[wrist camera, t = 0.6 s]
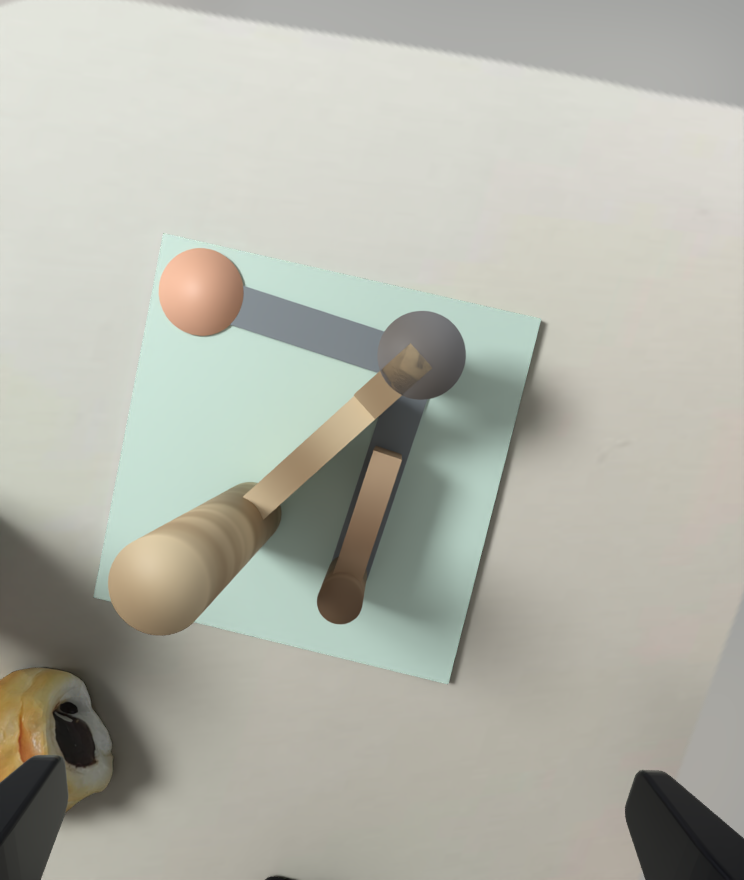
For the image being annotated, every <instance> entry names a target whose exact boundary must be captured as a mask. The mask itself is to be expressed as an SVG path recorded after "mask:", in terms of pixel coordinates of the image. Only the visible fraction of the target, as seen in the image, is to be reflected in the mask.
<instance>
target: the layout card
mask: <svg viewBox="0 0 744 880" xmlns="http://www.w3.org/2000/svg"><path fill="white" fill-rule="evenodd" d="M414 311H430V312H434V313H437V314H440V315H442V316H444V317H446V318H447V319H448V320H450V321H451V322H452V323H453V324H454V325H455V326H456V328H457V329H458V330H459V332H460V334H461V335H462V338H463V340H464V344H465V349H466V360H465V366H464V369H463V372H462V374H461V376H460V378H459V379H458V381H457V382H456V383H455V385H454V386H453V387H452V388H451V389H449V390H448V391H447V392H445V393H444V394H442V395H440V396H438V397H435V398H431V399H425V400H417V399H411V398H407V397H404V396H401V397H400V398H398V399H397V400H396V401H395V402H394V403H393V404H392V405H391V406H389V407H388V408H387V409H386V410H385V411H384V412H383V413H382V414H381V415H379V416H378V417H377V418H376V419H375V420H374V421H373V422H372V423H370V424H369V425H368V426H367V427H366V428H365V429H364V430H363V431H362V432H360V433H359V434H358V435H357V436H356V437H355V438H354V439H353V440H352V441H350V442H349V443H348V444H347V445H346V446H345V447H344V448H343V449H341V450H340V451H339V452H338V453H337V454H336V455H335V456H334V457H333V458H331V459H330V460H329V461H328V462H327V463H326V464H325V465H324V466H323V467H321V468H320V469H319V470H318V471H317V472H316V473H315V474H314V475H313V476H311V477H310V478H309V479H308V480H307V481H306V482H305V483H304V484H303V485H301V486H300V487H299V488H298V489H297V490H296V491H295V492H294V493H293V494H291V495H290V496H289V497H288V498H287V499H286V500H285V501H284V502H282V503H281V504H280V506H281V514H282V515H281V521H280V524H279V527H278V528H277V530H276V531H275V533H274V534H273V535H272V536H271V537H270V538H269V539H268V541H267V542H266V543H265V544H264V545H263V546H262V547H261V548H260V549H259V551H258V552H257V553H256V554H255V555H254V556H253V557H252V558H251V559H250V561H249V562H248V563H247V564H246V565H245V566H244V567H243V568H242V569H241V571H240V572H239V573H238V574H237V575H236V576H235V577H234V578H233V579H232V581H231V582H230V583H229V584H228V585H227V586H226V587H225V588H224V589H223V591H222V592H221V593H220V594H219V595H218V596H217V597H216V598H215V599H214V601H213V602H212V603H211V604H210V605H209V606H208V607H207V608H206V609H205V611H204V612H203V613H202V614H201V615H200V616H199V617H198V618H197V619H196V620H195V621H194V622H195V623H200V624H204V625H208V626H212V627H216V628H220V629H224V630H228V631H232V632H236V633H240V634H244V635H249V636H253V637H257V638H261V639H265V640H269V641H273V642H277V643H281V644H285V645H289V646H293V647H297V648H302V649H306V650H310V651H314V652H318V653H322V654H326V655H330V656H334V657H338V658H342V659H346V660H351V661H355V662H359V663H363V664H367V665H371V666H375V667H379V668H383V669H387V670H391V671H395V672H399V673H404V674H408V675H412V676H416V677H420V678H424V679H428V680H432V681H436V682H440V683H444V684H448V683H449V679H450V676H451V672H452V668H453V664H454V660H455V656H456V652H457V648H458V644H459V640H460V636H461V632H462V628H463V624H464V621H465V617H466V613H467V609H468V605H469V601H470V597H471V593H472V589H473V585H474V581H475V577H476V573H477V569H478V566H479V562H480V558H481V554H482V550H483V546H484V542H485V538H486V534H487V530H488V526H489V522H490V518H491V514H492V511H493V507H494V503H495V499H496V495H497V491H498V487H499V483H500V479H501V475H502V471H503V467H504V463H505V459H506V456H507V452H508V448H509V444H510V440H511V436H512V432H513V428H514V424H515V420H516V416H517V412H518V408H519V404H520V401H521V397H522V393H523V389H524V385H525V381H526V377H527V373H528V369H529V365H530V361H531V357H532V353H533V349H534V346H535V342H536V338H537V334H538V330H539V326H540V322H541V319H540V318H536V317H531V316H527V315H522V314H518V313H513V312H509V311H505V310H500V309H496V308H491V307H487V306H483V305H478V304H474V303H469V302H465V301H461V300H456V299H452V298H447V297H443V296H438V295H434V294H430V293H425V292H421V291H416V290H412V289H408V288H403V287H399V286H394V285H390V284H386V283H381V282H377V281H372V280H368V279H363V278H359V277H355V276H350V275H346V274H341V273H337V272H333V271H328V270H324V269H319V268H315V267H311V266H306V265H302V264H297V263H293V262H288V261H284V260H280V259H275V258H271V257H266V256H262V255H258V254H253V253H249V252H244V251H240V250H236V249H231V248H227V247H222V246H218V245H213V244H209V243H205V242H200V241H196V240H191V239H187V238H183V237H178V236H174V235H169V234H165V233H163V237H162V243H161V248H160V253H159V258H158V263H157V269H156V274H155V279H154V284H153V289H152V295H151V300H150V305H149V310H148V316H147V321H146V326H145V331H144V336H143V342H142V347H141V352H140V357H139V362H138V368H137V373H136V378H135V383H134V389H133V394H132V399H131V404H130V409H129V415H128V420H127V425H126V430H125V435H124V441H123V446H122V451H121V456H120V462H119V467H118V472H117V477H116V482H115V488H114V493H113V498H112V503H111V509H110V514H109V519H108V524H107V529H106V535H105V540H104V545H103V550H102V555H101V561H100V566H99V571H98V576H97V582H96V587H95V592H94V597H93V598H98V599H102V600H106V601H110V602H111V599H110V596H109V590H108V576H109V572H110V568H111V565H112V563H113V561H114V559H115V558H116V556H117V555H118V553H119V552H120V551H121V550H122V549H123V548H124V547H126V546H127V545H128V544H130V543H131V542H133V541H135V540H137V539H138V538H140V537H142V536H144V535H146V534H148V533H150V532H151V531H153V530H155V529H157V528H159V527H161V526H162V525H164V524H166V523H168V522H170V521H172V520H173V519H175V518H177V517H179V516H181V515H183V514H184V513H186V512H188V511H190V510H192V509H194V508H195V507H197V506H199V505H201V504H203V503H205V502H206V501H208V500H210V499H212V498H214V497H216V496H217V495H219V494H221V493H223V492H225V491H227V490H228V489H230V488H232V487H234V486H236V485H238V484H241V483H245V482H255V483H259V482H260V481H261V480H262V479H263V478H264V477H265V476H266V475H267V474H269V473H270V472H271V471H272V470H273V469H274V468H275V467H276V466H277V465H278V464H280V463H281V462H282V461H283V460H284V459H285V458H286V457H287V456H288V455H289V454H291V453H292V452H293V451H294V450H295V449H296V448H297V447H298V446H299V445H301V444H302V443H303V442H304V441H305V440H306V439H307V438H308V437H309V436H310V435H312V434H313V433H314V432H315V431H316V430H317V429H318V428H319V427H320V426H321V425H323V424H324V423H325V422H326V421H327V420H328V419H329V418H330V417H331V416H332V415H334V414H335V413H336V412H337V411H338V410H339V409H340V408H341V407H342V406H344V405H345V404H346V403H347V402H348V401H349V400H350V399H351V398H352V397H353V396H354V394H355V393H356V392H357V391H358V390H359V389H360V388H362V387H363V386H364V385H365V384H366V383H367V382H368V381H369V380H370V379H371V378H373V377H374V376H375V375H376V374H377V373H378V372H379V371H380V369H379V365H378V356H377V353H378V346H379V342H380V340H381V337H382V335H383V333H384V331H385V330H386V329H387V327H388V326H389V325H390V324H391V323H392V322H393V321H394V320H396V319H397V318H399V317H400V316H402V315H404V314H407V313H410V312H414ZM375 446H378V447H381V448H384V449H387V450H390V451H394V452H397V453H400V454H401V455H402V461H401V464H400V467H399V470H398V473H397V477H396V480H395V483H394V486H393V489H392V492H391V495H390V498H389V501H388V504H387V507H386V510H385V513H384V516H383V519H382V522H381V525H380V528H379V531H378V534H377V537H376V540H375V543H374V546H373V549H372V552H371V555H370V558H369V561H368V564H367V567H366V569H367V580H366V586H365V592H364V599H363V605H362V609H361V612H360V614H359V615H358V617H357V618H356V619H354V620H353V621H351V622H350V623H347V624H334V623H331V622H329V621H327V620H326V619H325V618H323V616H322V615H321V614H320V612H319V610H318V607H317V596H318V593H319V591H320V588H321V586H322V583H323V581H324V578H325V576H326V573H327V571H328V568H329V566H330V564H331V562H332V561H333V560H334V559H335V558H337V557H339V554H340V551H341V548H342V545H343V542H344V539H345V536H346V533H347V530H348V527H349V524H350V521H351V517H352V514H353V511H354V508H355V505H356V502H357V499H358V496H359V493H360V490H361V487H362V484H363V481H364V478H365V475H366V472H367V469H368V466H369V462H370V459H371V456H372V453H373V450H374V448H375Z"/></svg>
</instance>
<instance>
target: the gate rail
mask: <svg viewBox="0 0 744 880" xmlns="http://www.w3.org/2000/svg"><path fill="white" fill-rule="evenodd" d="M377 356H378V365H379V369H380V371H379V372H378V373H377V374H376V375H375V376H374V377H373V378H371V379H370V380H369V381H368V382H367V383H366V384H365V385H364V386H363V387H362V388H360V389H359V390H358V391H357V392H356V393H355V394H354V396H353V397H352V398H351V399H350V400H349V401H348V402H347V403H346V404H345V405H344V406H342V407H341V408H340V409H339V410H338V411H337V412H336V413H335V414H334V415H332V416H331V417H330V418H329V419H328V420H327V421H326V422H325V423H324V424H323V425H321V426H320V427H319V428H318V429H317V430H316V431H315V432H314V433H313V434H312V435H310V436H309V437H308V438H307V439H306V440H305V441H304V442H303V443H302V444H301V445H299V446H298V447H297V448H296V449H295V450H294V451H293V452H292V453H291V454H289V455H288V456H287V457H286V458H285V459H284V460H283V461H282V462H281V463H280V464H278V465H277V466H276V467H275V468H274V469H273V470H272V471H271V472H270V473H269V474H267V475H266V476H265V477H264V478H263V479H262V480H261V481H260V482H259V483H255V482H245V483H241V484H238V485H236V486H234V487H232V488H230V489H228V490H227V491H225V492H223V493H221V494H219V495H217V496H216V497H214V498H212V499H210V500H208V501H206V502H205V503H203V504H201V505H199V506H197V507H195V508H194V509H192V510H190V511H188V512H186V513H184V514H183V515H181V516H179V517H177V518H175V519H173V520H172V521H170V522H168V523H166V524H164V525H162V526H161V527H159V528H157V529H155V530H153V531H151V532H150V533H148V534H146V535H144V536H142V537H140V538H138V539H137V540H135V541H133V542H131V543H130V544H128V545H127V546H126V547H124V548H123V549H122V550H121V551H120V552H119V553H118V555H117V556H116V558H115V559H114V561H113V563H112V565H111V568H110V572H109V576H108V590H109V596H110V599H111V602H112V604H113V606H114V608H115V610H116V611H117V613H118V614H119V616H120V617H121V618H122V619H123V620H124V621H125V622H126V623H127V624H129V625H130V626H131V627H133V628H135V629H136V630H138V631H141V632H143V633H147V634H150V635H170V634H174V633H177V632H180V631H182V630H184V629H185V628H187V627H189V626H190V625H191V624H192V623H193V622H194V621H195V620H196V619H197V618H198V617H199V616H200V615H201V614H202V613H203V612H204V611H205V609H206V608H207V607H208V606H209V605H210V604H211V603H212V602H213V601H214V599H215V598H216V597H217V596H218V595H219V594H220V593H221V592H222V591H223V589H224V588H225V587H226V586H227V585H228V584H229V583H230V582H231V581H232V579H233V578H234V577H235V576H236V575H237V574H238V573H239V572H240V571H241V569H242V568H243V567H244V566H245V565H246V564H247V563H248V562H249V561H250V559H251V558H252V557H253V556H254V555H255V554H256V553H257V552H258V551H259V549H260V548H261V547H262V546H263V545H264V544H265V543H266V542H267V541H268V539H269V538H270V537H271V536H272V535H273V534H274V533H275V531H276V530H277V528H278V527H279V524H280V521H281V515H282V514H281V506H280V504H281V503H282V502H284V501H285V500H286V499H287V498H288V497H289V496H290V495H291V494H293V493H294V492H295V491H296V490H297V489H298V488H299V487H300V486H301V485H303V484H304V483H305V482H306V481H307V480H308V479H309V478H310V477H311V476H313V475H314V474H315V473H316V472H317V471H318V470H319V469H320V468H321V467H323V466H324V465H325V464H326V463H327V462H328V461H329V460H330V459H331V458H333V457H334V456H335V455H336V454H337V453H338V452H339V451H340V450H341V449H343V448H344V447H345V446H346V445H347V444H348V443H349V442H350V441H352V440H353V439H354V438H355V437H356V436H357V435H358V434H359V433H360V432H362V431H363V430H364V429H365V428H366V427H367V426H368V425H369V424H370V423H372V422H373V421H374V420H375V419H376V418H377V417H378V416H379V415H381V414H382V413H383V412H384V411H385V410H386V409H387V408H388V407H389V406H391V405H392V404H393V403H394V402H395V401H396V400H397V399H398V398H400V397H401V396H404V397H407V398H411V399H417V400H425V399H431V398H435V397H438V396H440V395H442V394H444V393H445V392H447V391H448V390H449V389H451V388H452V387H453V386H454V385H455V383H456V382H457V381H458V379H459V378H460V376H461V374H462V372H463V369H464V366H465V360H466V349H465V344H464V340H463V338H462V335H461V334H460V332H459V330H458V329H457V328H456V326H455V325H454V324H453V323H452V322H451V321H450V320H448V319H447V318H446V317H444V316H442V315H440V314H437V313H434V312H430V311H414V312H410V313H407V314H404V315H402V316H400V317H399V318H397V319H396V320H394V321H393V322H392V323H391V324H390V325H389V326H388V327H387V329H386V330H385V331H384V333H383V335H382V337H381V340H380V342H379V346H378V353H377Z"/></svg>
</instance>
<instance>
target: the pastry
mask: <svg viewBox="0 0 744 880" xmlns="http://www.w3.org/2000/svg"><path fill="white" fill-rule="evenodd" d="M111 749H112V742H111V739H110V736H109V732H108V730H107V729H106V727H105V726H104V724H103V723H102V721H101V719H100V718H99V716H98V715H97V714H96V713H95V711H94V710H93V709H92V707H91V700H90V696H89V694H88V691H87V689H86V686H85V684H84V682H83V681H82V680H81V679H79V678H78V677H76V676H75V675H73V674H71V673H69V672H65V671H61V670H56V669H49V668H28V669H22V670H18V671H14V672H12V673H10V674H9V675H7V676H6V677H4V678H3V679H1V680H0V782H1V781H3V780H4V779H5V778H6V777H7V776H9V775H10V774H11V773H12V772H13V771H15V770H16V769H17V768H18V767H19V766H21V765H22V764H23V763H24V762H25V761H27V760H28V759H29V758H31V757H33V756H35V755H59V756H62V757H63V758H64V760H65V766H66V776H67V785H68V804H67V808H66V812H67V811H68V810H69V809H70V808H72V807H73V806H74V805H75V804H76V803H78V802H79V801H81V800H82V799H84V798H85V797H87V796H89V795H91V794H93V793H99V792H102V791H103V790H104V789H105V788H106V787H107V785H108V784H109V782H110V779H111V777H112V773H113V764H112V761H113V755H112V754H111ZM66 812H65V813H66Z"/></svg>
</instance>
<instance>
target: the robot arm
mask: <svg viewBox="0 0 744 880" xmlns="http://www.w3.org/2000/svg"><path fill="white" fill-rule="evenodd" d="M67 804H68V785H67V776H66V766H65V760H64V758H63V757H62V756H59V755H35V756H33V757H31V758H29V759H28V760H27V761H25V762H24V763H23V764H22V765H21V766H19V767H18V768H17V769H16V770H15V771H13V772H12V773H11V774H10V775H9V776H7V777H6V778H5V779H4V780H3V781H1V782H0V880H41V878H42V875H43V872H44V869H45V867H46V864H47V861H48V859H49V856H50V853H51V850H52V848H53V845H54V842H55V840H56V837H57V834H58V831H59V829H60V826H61V823H62V821H63V818H64V815H65V812H66V808H67ZM625 817H626V822H627V825H628V829H629V832H630V835H631V838H632V841H633V844H634V847H635V850H636V853H637V856H638V859H639V862H640V865H641V868H642V871H643V874H644V877H645V880H744V838H743V837H741V836H740V835H739V834H738V833H737V832H735V831H734V830H733V829H732V828H731V827H730V826H729V825H727V824H726V823H725V822H724V821H722V820H721V819H720V818H719V817H718V816H717V815H716V814H714V813H713V812H712V811H711V810H710V809H709V808H707V807H706V806H705V805H704V804H703V803H702V802H700V801H699V800H698V799H697V798H695V797H694V796H693V795H692V794H691V793H690V792H688V791H687V790H686V789H685V788H684V787H683V786H682V785H680V784H679V783H678V782H677V781H676V780H674V779H673V778H672V777H671V776H670V775H668V774H667V773H665V772H663V771H656V770H641V771H639V772H638V773H637V774H636V775H635V778H634V781H633V784H632V787H631V790H630V793H629V796H628V799H627V802H626V806H625ZM265 880H285V879H282V878H278V877H268V878H267V879H265Z"/></svg>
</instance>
